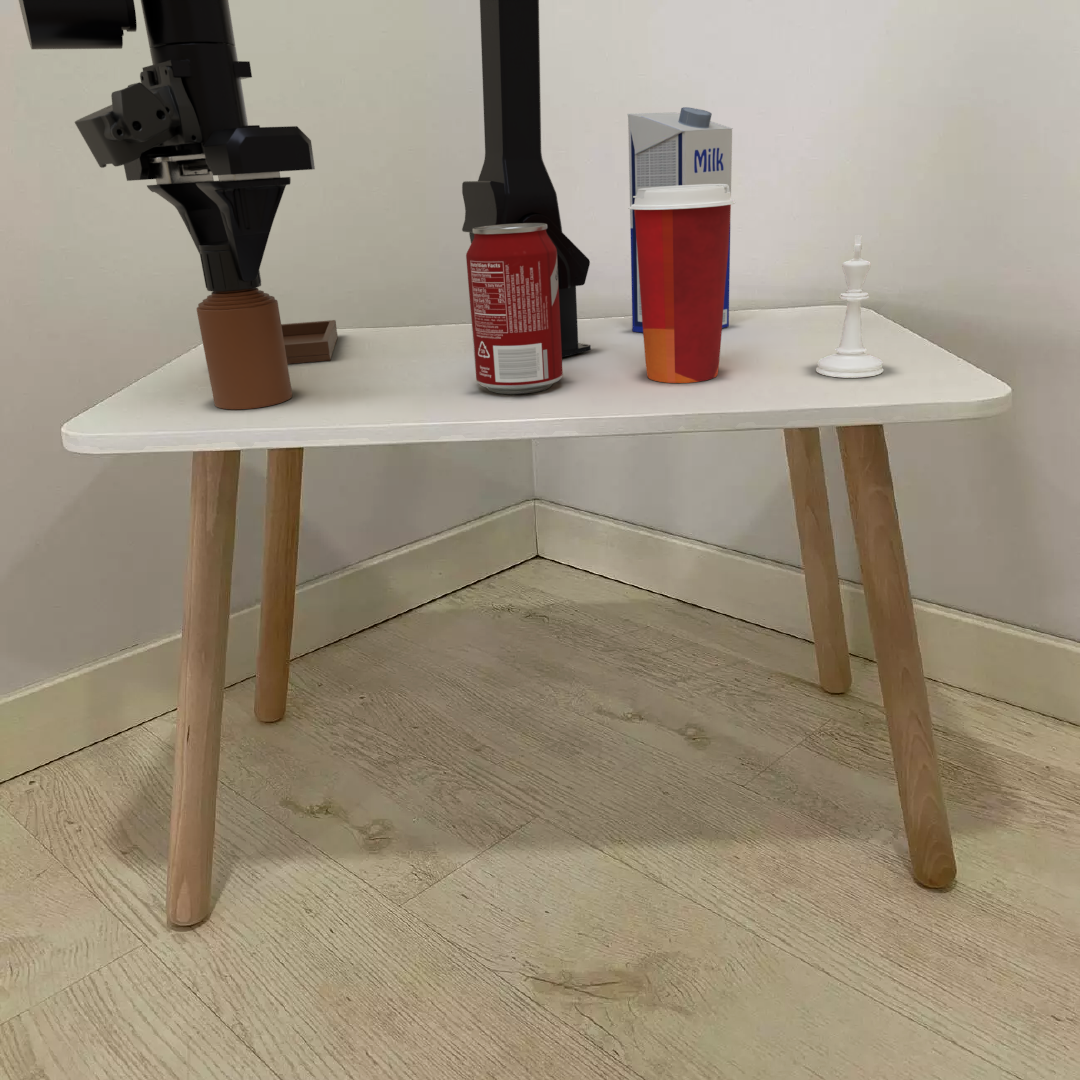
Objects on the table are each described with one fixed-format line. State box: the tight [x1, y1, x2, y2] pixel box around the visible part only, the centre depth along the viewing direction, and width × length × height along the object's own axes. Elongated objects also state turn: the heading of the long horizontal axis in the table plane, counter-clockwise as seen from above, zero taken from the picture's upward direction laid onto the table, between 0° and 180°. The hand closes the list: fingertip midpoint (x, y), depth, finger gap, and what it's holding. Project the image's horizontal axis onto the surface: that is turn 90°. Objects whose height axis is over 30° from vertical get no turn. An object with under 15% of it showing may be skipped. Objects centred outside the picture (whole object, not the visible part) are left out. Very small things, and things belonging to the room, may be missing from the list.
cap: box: [199, 241, 262, 293], centre depth 71 cm, size 4×4×3 cm
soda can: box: [465, 223, 564, 395], centre depth 72 cm, size 7×7×12 cm
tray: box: [281, 319, 339, 365], centre depth 94 cm, size 13×10×2 cm
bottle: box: [196, 287, 293, 410], centre depth 73 cm, size 6×6×12 cm
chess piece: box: [815, 234, 884, 379], centre depth 71 cm, size 5×5×10 cm
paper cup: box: [628, 184, 736, 384], centre depth 72 cm, size 8×8×14 cm
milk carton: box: [627, 106, 734, 334], centre depth 90 cm, size 7×7×20 cm
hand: (233, 279), depth 72 cm, fingers open, 5 cm apart
